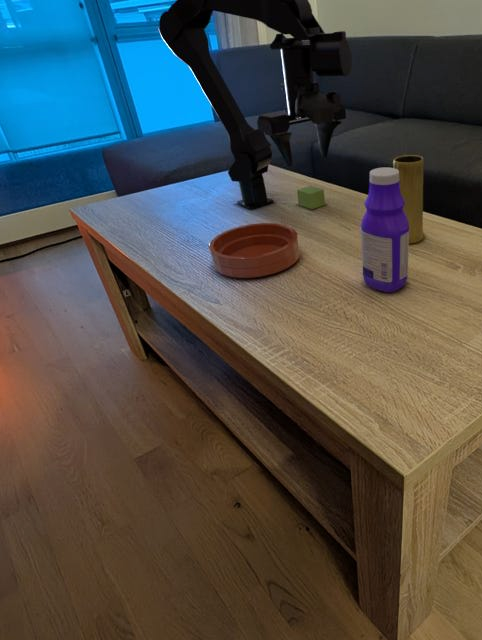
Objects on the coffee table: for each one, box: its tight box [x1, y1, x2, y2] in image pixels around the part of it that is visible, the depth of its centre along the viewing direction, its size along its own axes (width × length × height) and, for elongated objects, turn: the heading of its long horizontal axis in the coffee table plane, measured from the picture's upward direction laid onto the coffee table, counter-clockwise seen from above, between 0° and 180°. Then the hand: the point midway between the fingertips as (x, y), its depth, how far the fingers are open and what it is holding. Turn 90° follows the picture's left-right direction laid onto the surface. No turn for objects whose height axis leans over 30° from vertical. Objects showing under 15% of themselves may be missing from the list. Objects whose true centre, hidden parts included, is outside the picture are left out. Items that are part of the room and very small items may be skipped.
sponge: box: [296, 185, 326, 210], centre depth 103 cm, size 5×4×4 cm
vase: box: [392, 154, 425, 245], centre depth 81 cm, size 6×6×14 cm
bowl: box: [208, 222, 301, 279], centre depth 81 cm, size 16×16×4 cm
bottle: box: [360, 166, 410, 293], centre depth 66 cm, size 7×6×17 cm
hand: (307, 162), depth 96 cm, fingers open, 9 cm apart
